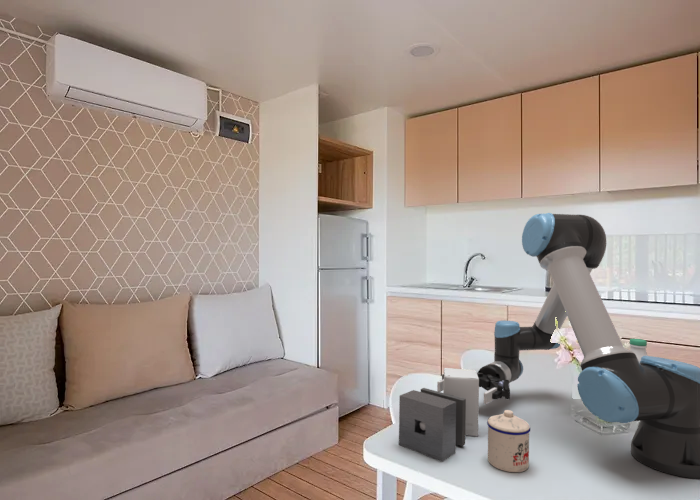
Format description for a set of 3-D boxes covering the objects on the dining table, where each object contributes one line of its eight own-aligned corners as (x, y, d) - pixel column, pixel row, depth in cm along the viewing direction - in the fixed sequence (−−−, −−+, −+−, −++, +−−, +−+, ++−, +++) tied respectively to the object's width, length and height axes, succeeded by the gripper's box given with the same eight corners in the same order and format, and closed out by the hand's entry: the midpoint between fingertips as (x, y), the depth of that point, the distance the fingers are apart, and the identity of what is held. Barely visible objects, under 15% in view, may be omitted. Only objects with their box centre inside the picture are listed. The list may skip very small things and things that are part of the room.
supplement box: (479, 437, 108) (479, 378, 108) (443, 433, 110) (443, 376, 110) (475, 423, 117) (476, 369, 117) (442, 420, 119) (443, 367, 119)
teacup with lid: (520, 478, 89) (521, 422, 89) (479, 463, 95) (480, 411, 95) (540, 458, 97) (541, 407, 97) (501, 446, 104) (502, 398, 104)
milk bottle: (656, 402, 136) (656, 340, 136) (646, 407, 132) (646, 343, 132) (629, 396, 142) (630, 336, 142) (619, 400, 138) (619, 338, 138)
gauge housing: (473, 440, 106) (473, 392, 106) (442, 461, 95) (442, 408, 95) (422, 423, 116) (423, 380, 116) (389, 441, 105) (389, 392, 105)
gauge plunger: (465, 444, 103) (465, 399, 103) (445, 457, 96) (445, 409, 96) (415, 427, 113) (415, 385, 113) (393, 438, 106) (394, 394, 106)
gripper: (535, 398, 121) (506, 419, 105) (456, 379, 138) (421, 395, 122) (536, 372, 121) (507, 389, 105) (456, 356, 138) (421, 369, 122)
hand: (460, 392), depth 114 cm, fingers open, 13 cm apart
